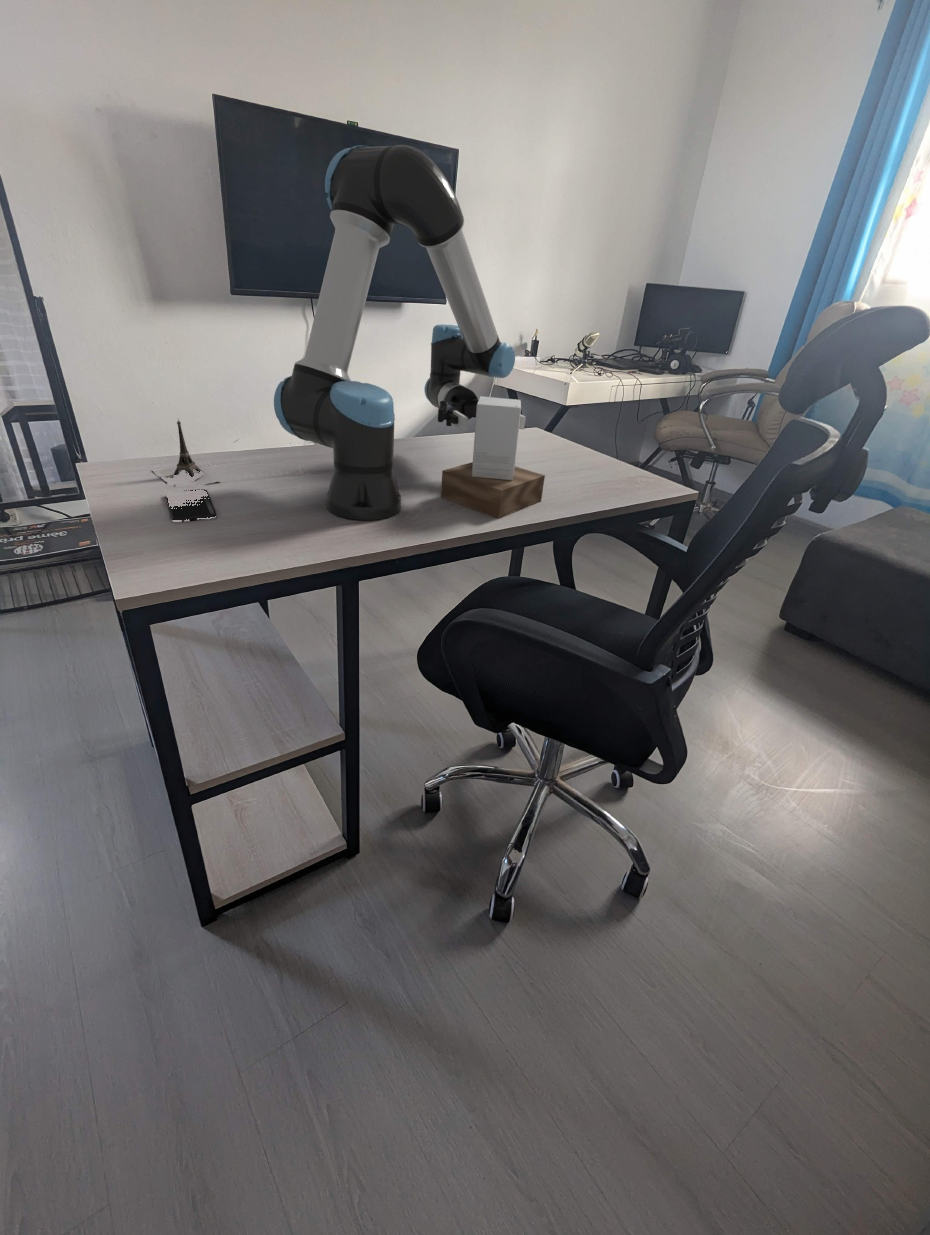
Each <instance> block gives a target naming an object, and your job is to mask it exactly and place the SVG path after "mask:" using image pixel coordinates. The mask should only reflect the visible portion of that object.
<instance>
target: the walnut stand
mask: <svg viewBox="0 0 930 1235" xmlns="http://www.w3.org/2000/svg"><path fill="white" fill-rule="evenodd" d="M472 465H473V461H472V462H469V463H464V464H460V465H458V466H454V467H451V468H447V469H443V470H442V471H441V473H442V474H441V491H440V498H442V499H445V500H447V501H450V502H452V503H456V504H458V505H461V506H464V507H466V508H469V509H471V510H475V511H477V512H480V513H482V514H485V515H488V516H490V517H493V518H496V519H501V518H503V517H506V516H508V515H511V514H514V513H516V512H518V511H521V510H523V509H525V508H529V507H531V506H533V505H536V504H538V503H541V502H542V499H543V491H544V490H543V489H544V483H545V478H546V475H544V474H541V473H538V472H535V471H532V470H528V469H525V468H522V467H518V466H515V467H514V475H513V480H502V479H491V478H481V477H472Z"/></svg>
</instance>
